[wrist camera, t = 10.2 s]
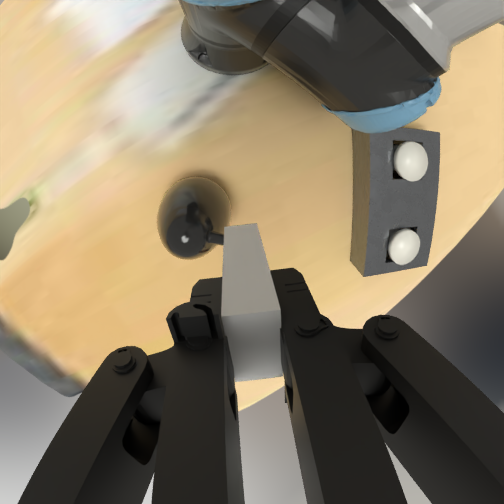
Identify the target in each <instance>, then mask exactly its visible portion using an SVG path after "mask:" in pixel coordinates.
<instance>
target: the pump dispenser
mask: <svg viewBox="0 0 504 504" xmlns="http://www.w3.org/2000/svg"><path fill="white" fill-rule="evenodd" d="M231 214H232V210H231V204H230V200H229V198H228V196H227V194H226V192H225V191H224V190H223V188H222V187H221V186H219V185H218V184H217V183H215V182H214V181H212V180H210V179H207V178H204V177H188V178H185V179H182V180H180V181H178V182H176V183H175V184H174V185H172V186H171V187H170V188H169V189H168V191H167V192H166V193H165V195H164V197H163V199H162V201H161V203H160V206H159V210H158V215H157V228H158V233H159V236H160V239H161V241H162V243H163V245H164V247H165V248H166V250H167V251H168V252H169V253H170V254H172V255H173V256H175V257H177V258H180V259H184V260H193V259H197V258H200V257H203V256H205V255H206V254H208V253H209V252H211V251H212V250H213V249H214V248H215V247H216V246H217V245H224V227H228V226H229V225H230V222H231Z"/></svg>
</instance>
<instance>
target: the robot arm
mask: <svg viewBox="0 0 504 504" xmlns="http://www.w3.org/2000/svg"><path fill="white" fill-rule="evenodd" d="M179 2H180V5H181V7H182V9H183V12H184V14H185V17H184V20H183V23H182V27H181V37H182V42H183V45H184V47H185V49H186V51H187V52H188V54H189V56H190V57H191V58H192V59H193V60H194V61H195V62H196V63H197V64H199V65H200V66H202V67H203V68H205V69H207V70H210V71H212V72H215V73H219V74H226V75H239V74H246V73H250V72H253V71H256V70H258V69H260V68H262V67H264V66H266V65H267V64H269V63H270V64H271V65H273V66H274V67H276V68H277V69H278V70H280V71H281V72H282V73H284V74H285V75H287V76H288V77H289V78H291V79H292V80H293V81H294V82H296V83H297V84H298V85H300V86H301V87H302V88H303V89H305V90H306V91H307V92H308V93H310V94H311V95H312V96H313V97H314V98H316V99H317V100H318V101H319V102H320V103H321V105H322V107H323V108H325V109H326V110H327V111H329V112H331V113H333V114H335V115H336V116H337V117H338V118H339V119H341V120H342V121H343V122H344V123H345V124H346V125H348V126H349V127H350V128H352V129H354V130H357V131H360V132H364V133H382V132H387V131H391V130H394V129H397V128H400V127H402V126H404V125H407V124H408V123H411V122H412V121H414V120H416V119H418V118H419V117H420V116H422V115H423V114H424V113H426V111H427V109H426V108H427V107H429V106H433V105H434V104H435V103H436V101H437V100H438V98H439V96H440V93H441V83H440V78H439V76H440V75H442V74H443V73H445V72H447V71H448V70H450V58H451V51H452V48H453V47H454V46H456V45H458V44H460V43H461V42H463V41H465V40H467V39H468V38H470V37H472V36H474V35H476V34H478V33H479V32H481V31H483V30H485V29H487V28H489V27H491V26H493V25H495V24H497V23H499V22H500V21H503V20H504V0H179ZM166 320H167V323H168V326H169V329H170V332H171V335H172V338H173V340H174V346H173V347H171V348H169V349H167V350H165V351H162V352H159V353H155V354H152V355H148V356H147V355H146V353H145V352H144V351H143V350H142V349H140V348H138V347H135V346H126V347H122V348H118V349H117V350H115V351H113V352H111V353H110V354H109V355H108V356H107V357H106V358H105V360H104V361H103V363H102V364H101V366H100V367H99V368H98V370H97V371H96V373H95V374H94V376H93V377H92V379H91V380H90V382H89V383H88V385H87V386H86V388H85V389H84V391H83V392H82V394H81V395H80V397H79V398H78V400H77V401H76V403H75V404H74V406H73V407H72V409H71V411H70V412H69V414H68V415H67V417H66V419H65V420H64V422H63V423H62V425H61V427H60V428H59V430H58V432H57V433H56V435H55V437H54V438H53V440H52V441H51V443H50V445H49V447H48V448H47V450H46V452H45V453H44V455H43V457H42V459H41V460H40V462H39V464H38V466H37V468H36V469H35V471H34V473H33V475H32V477H31V479H30V481H29V483H28V485H27V486H26V488H25V490H24V492H23V494H22V496H21V498H20V500H19V502H18V504H142V502H143V499H144V497H145V494H146V492H147V489H148V486H149V484H150V482H151V479H152V476H153V474H154V481H153V493H152V504H245V501H244V489H243V478H242V464H241V451H240V436H239V421H238V404H237V394H236V390H235V382H239V381H249V380H258V379H266V378H273V377H280V376H283V374H284V379H285V403H288V408H289V413H290V418H291V423H292V428H293V433H294V438H295V443H296V448H297V454H298V459H299V464H300V469H301V474H302V479H303V484H304V489H305V494H306V499H307V504H407V501H406V498H405V495H404V493H403V489H402V487H401V484H400V481H399V479H398V476H397V473H396V470H395V468H394V465H393V462H392V460H391V457H390V455H389V452H388V450H387V447H386V444H387V446H388V447H389V448H390V450H391V451H392V452H393V454H394V455H395V456H396V457H397V459H398V460H399V461H400V463H401V464H402V465H403V467H404V468H405V469H406V470H407V472H408V473H409V474H410V476H411V477H412V478H413V480H414V481H415V482H416V484H417V485H418V486H419V487H420V489H421V490H422V491H423V492H424V494H425V495H426V497H427V498H428V499H429V500H430V501H431V503H432V504H504V413H503V412H502V411H501V410H500V409H499V408H498V407H497V406H496V405H495V404H494V403H493V402H492V401H491V400H490V399H489V398H488V397H487V396H486V395H485V394H484V393H483V392H482V391H480V389H478V388H477V387H476V386H475V385H474V384H473V383H472V382H471V381H470V380H469V379H468V378H467V377H466V376H465V375H464V374H463V373H461V372H460V371H459V370H458V369H457V368H456V367H455V366H454V365H453V364H452V363H450V362H449V361H448V360H447V359H446V358H445V357H444V356H443V355H442V354H440V353H439V352H438V351H437V350H436V349H435V348H434V347H432V346H431V345H430V344H429V343H428V342H427V341H426V340H425V339H424V338H422V337H421V336H420V335H419V334H418V333H416V332H415V331H414V330H413V329H412V328H411V327H410V326H408V325H407V324H406V323H405V322H404V321H402V320H400V319H399V318H397V317H393V316H390V315H378V316H374V317H372V318H370V319H369V320H367V321H366V323H365V325H364V326H363V329H347V328H340V327H336V326H333V324H332V322H331V321H330V320H329V319H328V318H327V317H325V316H323V315H321V314H320V312H319V310H318V308H317V306H316V304H315V301H314V299H313V297H312V295H311V293H310V290H309V289H308V286H307V284H306V283H305V280H304V278H303V275H302V274H301V273H300V272H298V271H297V270H296V269H294V268H287V269H279V270H271V271H270V269H269V265H268V262H267V258H266V255H265V251H264V247H263V244H262V240H261V237H260V233H259V230H258V226H257V223H254V224H245V225H237V226H228V227H224V248H223V274H222V277H219V278H210V279H200V280H199V281H198V282H197V283H196V284H195V285H194V286H193V288H192V293H191V298H190V302H187V303H184V304H181V305H179V306H177V307H175V308H174V309H173V310H172V311H171V312H169V314H168V316H167V318H166ZM234 378H235V381H234ZM385 443H386V444H385Z"/></svg>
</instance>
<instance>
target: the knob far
mask: <svg viewBox="0 0 504 504" xmlns="http://www.w3.org/2000/svg"><path fill="white" fill-rule="evenodd" d="M419 248H420V239H419V236H418V235H417V234H416V233H415V232H414V231H412V230H411V229H407V228H404V229H401V228H398V229H389V237H388V246H387V249H388V254H389V256H390V258H391V259H392V260H393V261H394V262H395V263H397V264H399V265H404V264H407V263H409V262H411V261H412V260H413V259H414V258H415V257H416V255H417V253H418V251H419Z"/></svg>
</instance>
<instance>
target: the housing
mask: <svg viewBox="0 0 504 504" xmlns="http://www.w3.org/2000/svg"><path fill="white" fill-rule="evenodd" d="M393 140H400V141H412V142H416V143H418V144H420V145H421V146H422V147H423V148H424V149H425V151H426V153H427V157H428V167H427V170H426V173H425V174H424V176H423V177H422V178H421V179H419V180H418V181H408V180H406V179H403V178H393ZM352 141H353V220H352V240H351V256H350V261H351V262H352V264H353V265H354V266H355V267H356V268H357V270H358V271H359V272H360V273H361V275H362V276H363V277H366V276H372V275H378V274H384V273H389V272H395V271H401V270H406V269H411V268H417V267H422V266H427V262H428V257H429V252H430V247H431V241H432V235H433V228H434V221H435V213H436V205H437V195H438V182H439V163H440V133H439V132H433V131H426V130H418V129H410V128H397V129H394V130H391V131H387V132H382V133H364V132H360V131H357V130H354V129H352ZM408 227H410V229H411V230H412V231H414V232H415V233H416V234H417V235H418V236H419V239H420V248H419V251H418V253H417V255H416V257H415V258H414V259H413V260H412V261H411V262H409V263H407V264H404V265H399V264H397V263H395V262H394V261H393V260H392V259H391V258H390V256H389V254H388V251H387V246H388V237H389V229H398V228H408Z"/></svg>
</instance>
